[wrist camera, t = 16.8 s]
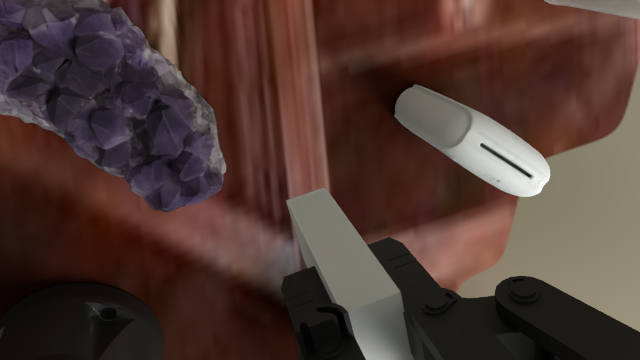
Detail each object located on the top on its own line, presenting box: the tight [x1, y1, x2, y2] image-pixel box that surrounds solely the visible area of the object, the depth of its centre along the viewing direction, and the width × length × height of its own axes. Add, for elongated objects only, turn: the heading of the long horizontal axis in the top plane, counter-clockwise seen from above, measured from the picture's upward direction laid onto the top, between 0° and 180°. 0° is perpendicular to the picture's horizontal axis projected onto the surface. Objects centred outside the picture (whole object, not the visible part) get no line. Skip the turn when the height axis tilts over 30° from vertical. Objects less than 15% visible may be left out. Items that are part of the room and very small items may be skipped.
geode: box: [0, 0, 226, 212], centre depth 34 cm, size 20×12×10 cm, turn 44°
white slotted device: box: [394, 85, 550, 197], centre depth 40 cm, size 10×4×12 cm, turn 57°
